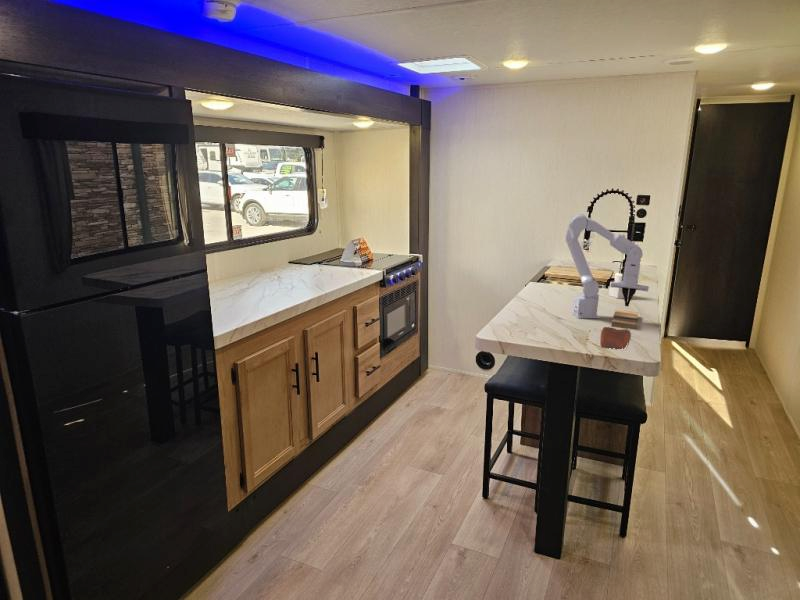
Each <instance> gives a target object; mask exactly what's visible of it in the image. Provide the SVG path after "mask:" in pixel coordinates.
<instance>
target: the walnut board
mask: <svg viewBox="0 0 800 600" xmlns="http://www.w3.org/2000/svg"><path fill="white" fill-rule="evenodd" d="M637 321H638V317H637V318H629V317H622V316H614V315H613V318H612V320H611V325H610V326H611V327H612V328H615V327H616V328H622V329H628V328H630V329H629V330H636V329H637V328H636V327H637Z"/></svg>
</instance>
